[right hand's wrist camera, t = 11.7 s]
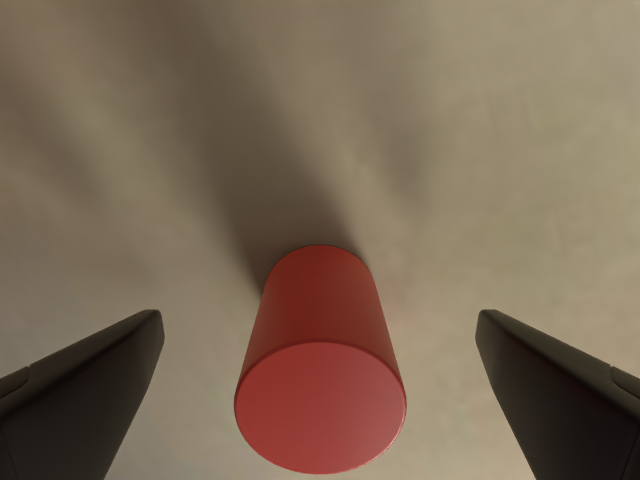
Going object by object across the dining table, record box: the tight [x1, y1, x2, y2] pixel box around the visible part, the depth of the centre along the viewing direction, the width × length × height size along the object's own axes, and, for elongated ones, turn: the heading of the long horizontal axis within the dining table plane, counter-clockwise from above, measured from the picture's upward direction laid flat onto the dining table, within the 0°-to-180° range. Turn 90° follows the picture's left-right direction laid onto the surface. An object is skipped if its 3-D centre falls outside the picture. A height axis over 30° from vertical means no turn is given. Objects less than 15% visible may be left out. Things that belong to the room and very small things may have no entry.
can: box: [234, 245, 407, 474], centre depth 11 cm, size 4×4×5 cm
